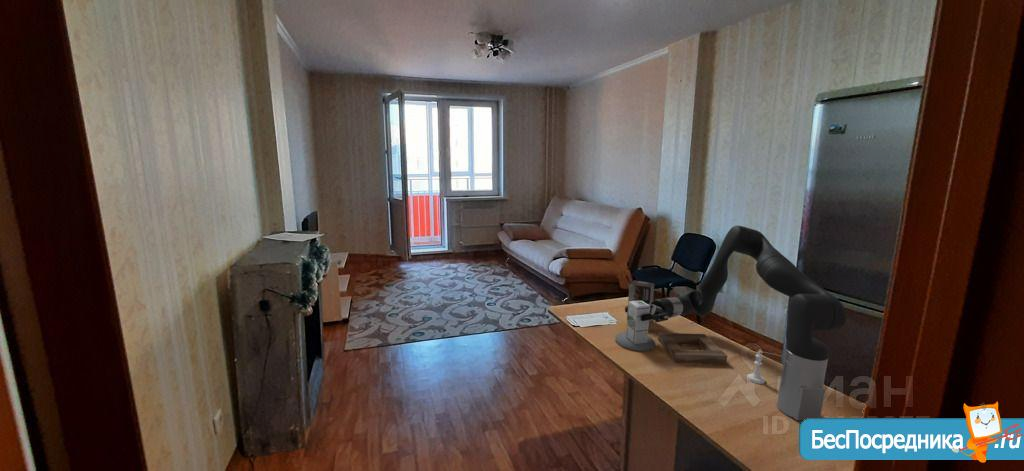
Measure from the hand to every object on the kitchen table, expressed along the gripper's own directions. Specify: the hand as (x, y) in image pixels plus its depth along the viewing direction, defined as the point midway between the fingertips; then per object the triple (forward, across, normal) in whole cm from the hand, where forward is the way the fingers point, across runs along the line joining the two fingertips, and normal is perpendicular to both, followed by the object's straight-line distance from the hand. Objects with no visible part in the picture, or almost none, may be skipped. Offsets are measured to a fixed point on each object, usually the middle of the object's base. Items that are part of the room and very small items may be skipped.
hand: (633, 313), depth 149 cm
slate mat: (-2, 0, +12) cm, 12 cm away
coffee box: (-18, -17, +12) cm, 27 cm away
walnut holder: (-16, +13, +12) cm, 23 cm away
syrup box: (-2, 0, +11) cm, 11 cm away
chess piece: (-20, +35, +12) cm, 42 cm away
